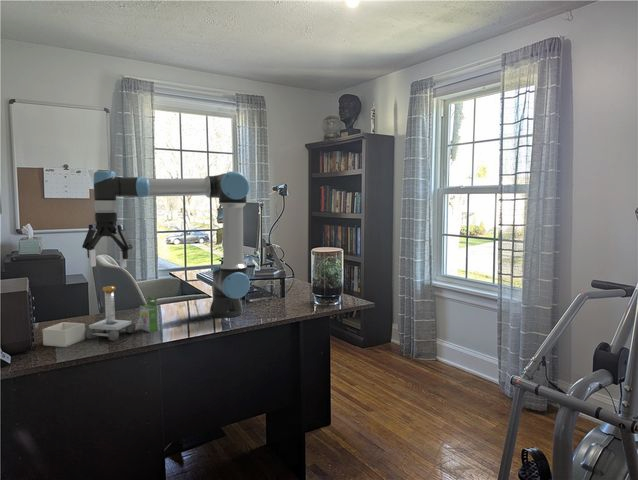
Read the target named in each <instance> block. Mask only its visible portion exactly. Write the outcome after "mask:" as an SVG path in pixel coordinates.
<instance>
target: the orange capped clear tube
mask: <svg viewBox="0 0 638 480" xmlns="http://www.w3.org/2000/svg"><path fill="white" fill-rule="evenodd" d="M102 291H103V292H104V306H105V308H104V310H105V319H106V325H113V324H115V320H116V316H115V315H116V311H115V291H116V286H114V285H108V286H102ZM110 331H111V330H106V331H105V332H106V333H105V334H109V332H110ZM106 337H107V338H108V336H106Z"/></svg>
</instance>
